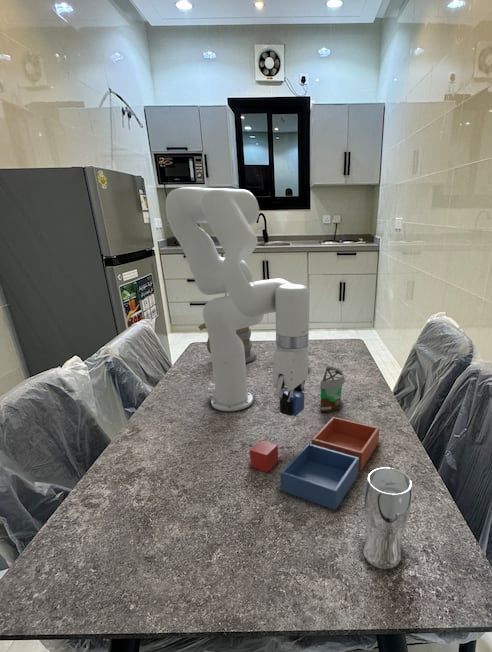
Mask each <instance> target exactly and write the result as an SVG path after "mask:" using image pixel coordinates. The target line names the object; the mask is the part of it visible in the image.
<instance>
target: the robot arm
mask: <svg viewBox="0 0 492 652" xmlns="http://www.w3.org/2000/svg"><path fill="white" fill-rule="evenodd" d="M165 215H166V219H167V222H168V225H169V228H170V231H171V232H172V234H173V236H174V237H175V239H176V240H177V241H178V244H179V245H180V247H181V249H182V251H183V253H184V255H185V259H186V261H187V264H188V266H189V269H190V272H191V274H192V277H193V280H194V282H195V285H196V287H197V288H198V290H199V292H201V294H202V295H207V296H213V295H220V294H226V293H227V294H228V295H224V296H219V297H215V298H213V299H209V300H208V301H207V302H206V303H205V304H204V305H203V308H202V318H203V323H205V325H206V329H205V330H206V332H207V337H208V336H209V342H210V349H211V354H210V356H211V365H212V374H213V376H212V377H213V383H209V384H208V387H207V388H206V393H209V394H212V397H211V399H210V404H211V407H212V408H214V410H218V411H221V412H236V411H242V410H245V409H246V408H248V407H250V406H251V405H253V403H254V396H253V394H251V393H250V392H248V377H247V366H246V364H247V363H245V351H244V344H243V342H242V340H241V339H240V338H239V336H238V335H237V334H236V330H239V329H242V328H246V327H249V328H250V327H252V326H256V325H258V324H260V323H261V322H262V321H263V319H264V315H266V314H267V315H268V314H272V313H275V347H276V348H274V349H275V350H274V355H273V363H272V364H273V365H272V387H273V388H274V389H275V390H274V396H276V397H277V398H278V399H279V412H280V413H281V414H282V415H286V416H289V417H291V416H292V417H293V401H292V400H291V398H292V390H295V391H299V392H303V393H304V391H305V383H306V380H307V379H308V376H309V370H308V368H309V363H310V362H309V346H310V345H309V341H310V340H309V339H310V302H311V301H310V298H311V294H310V289H309V288H308V286H306V285H304V284H298V283H292V282H290V281H289V280H286V279H284V278H277V277H276V278H270V279H262V280H255V279H254V276H253V273H252V271H251V269H250V266H249V265H248V264H247V262H246V261H245V259H246V258H248V257H249V256H250V255H251V254H252V253H253V252H254V251H255V250H256V249H257V247H258V236H257V235H256V233H255V231H254V229H253V228H252V225H254V224H256V222H257V221H258V219H259V215H260V206H259V203H258V200H257V198H256V196H255V195H254V194H253V193H252V192H251V191H250V190H247V189H242V188H218V187H198V186H197V187H191V186H185V187H178V188H174V189H172V190H171V191H170V192H168V194H167V195H166V198H165ZM207 223H208V226H209V227H210V229H211V230H212V232H213V234H214V236H215V237H216V238H215V239H216V240H217V241H218V243H219V245H220V247H221V248H222V250H223V252H224V254H225V256H224V257H222V256H221V255H220V254H219V252H218V250H217V247H216V244H215V242H214V240H213V239H212V238H211V236H210V235H209V234H208V233H207V232H206V231H205V230H204V229H203V228H202V227H201V226H199V225H198V224H207ZM285 391H288V396H287V395H286V394H285V393H284V392H285Z"/></svg>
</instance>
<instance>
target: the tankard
mask: <svg viewBox="0 0 492 652" xmlns="http://www.w3.org/2000/svg"><path fill="white" fill-rule="evenodd" d="M198 329H199V330H200V331H202V330H204V329H205V330H207V329H206V325H205V322H203V323H201V324H200V325H198ZM236 334H237V335H238V336H239V338H240V339H241V340H242V342H243V344H244V351H245V363H246V364H247V363H250V362H253V361H254V358H255V352H254V351H252V346H253V344H252V340H251V336H252V330H251V328H250V327H246V328H242V329H239V330H236ZM206 350H207V352H208V353H209V354H210V355H211V349H210V342H209V336H208V335H207V340H206Z"/></svg>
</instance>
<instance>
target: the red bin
mask: <svg viewBox="0 0 492 652" xmlns="http://www.w3.org/2000/svg"><path fill="white" fill-rule="evenodd" d="M379 439H380V427H378V426H373V425H369V424H365V423H360V422H357V421H353V420H348V419H345V418H340V417H335V416H332V417H331V418H330V419H329V420H328V421H327V422H326V424H324V426H323V427H321V429H320V430H319V431H317V433H316V434H315V435H314V436H313V437H312V438H311V444H312V445H316V446H319V447H323V448H327V449H330V450H334V451H337V452H341V453H344V454H348V455H351V456H355V457H358V458H359V468H358V471H362V470H363V468H364V467H365V466H366V464H367V462H368V460H369V459H370V457H371V456H372V454H373V452H374V451H375V450H376V448H377V446H378V445H379Z"/></svg>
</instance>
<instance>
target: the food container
mask: <svg viewBox="0 0 492 652" xmlns="http://www.w3.org/2000/svg"><path fill="white" fill-rule="evenodd" d="M345 381H346V379H345V374H344V373H343V371H342V370H341V369H339V368H336V367H333V366H325V372H324V375H323V378H322V380H320V412H321V413H330V412H334V411H336V410H339V408H340V407H341V400H342V389H343V385H344V384H345V383H346V382H345Z"/></svg>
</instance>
